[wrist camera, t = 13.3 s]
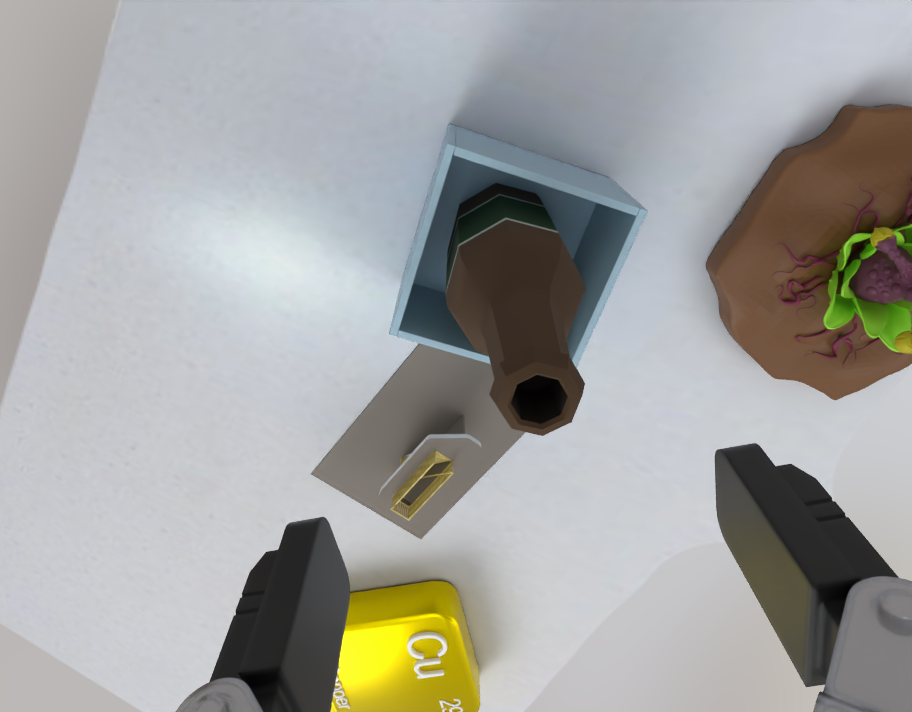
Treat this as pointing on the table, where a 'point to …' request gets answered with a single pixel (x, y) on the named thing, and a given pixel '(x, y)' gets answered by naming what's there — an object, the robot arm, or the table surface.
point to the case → (569, 206)
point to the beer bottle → (517, 304)
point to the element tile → (407, 652)
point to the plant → (826, 257)
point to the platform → (421, 440)
